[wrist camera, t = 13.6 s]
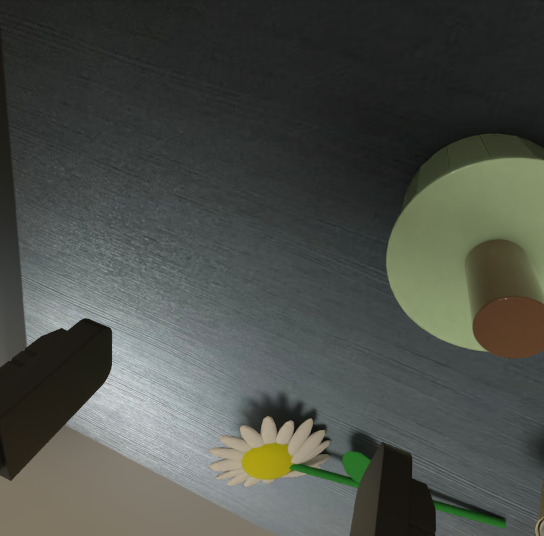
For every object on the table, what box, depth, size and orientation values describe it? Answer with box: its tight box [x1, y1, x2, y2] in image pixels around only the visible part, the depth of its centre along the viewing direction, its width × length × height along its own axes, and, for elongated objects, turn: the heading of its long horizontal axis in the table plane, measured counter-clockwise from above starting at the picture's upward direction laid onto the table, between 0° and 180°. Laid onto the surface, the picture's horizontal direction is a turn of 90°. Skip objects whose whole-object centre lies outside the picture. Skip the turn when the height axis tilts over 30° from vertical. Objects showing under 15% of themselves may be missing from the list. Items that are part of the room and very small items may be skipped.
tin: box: [402, 134, 544, 210], centre depth 26 cm, size 10×10×8 cm
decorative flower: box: [208, 416, 506, 528], centre depth 43 cm, size 13×5×30 cm
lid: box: [386, 155, 544, 358], centre depth 20 cm, size 11×11×7 cm
